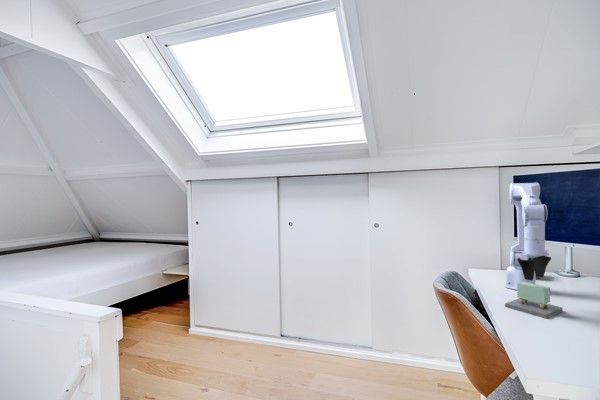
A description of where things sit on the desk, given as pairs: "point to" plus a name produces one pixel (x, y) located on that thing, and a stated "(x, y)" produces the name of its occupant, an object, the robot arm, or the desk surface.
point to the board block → (533, 292)
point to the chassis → (534, 307)
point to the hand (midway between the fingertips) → (534, 278)
